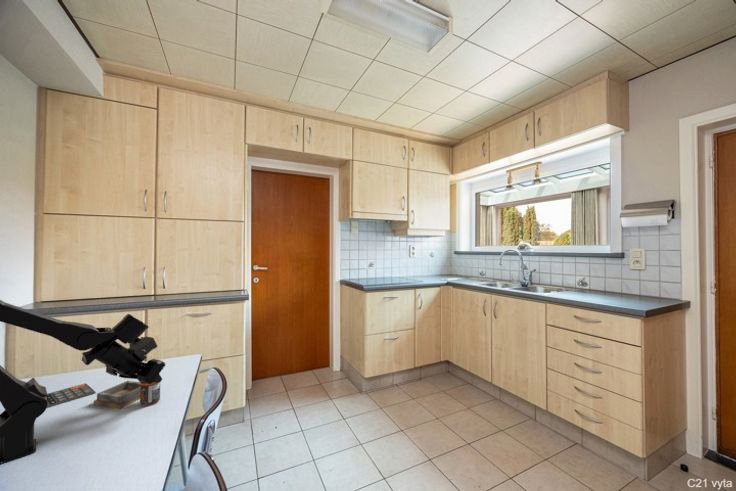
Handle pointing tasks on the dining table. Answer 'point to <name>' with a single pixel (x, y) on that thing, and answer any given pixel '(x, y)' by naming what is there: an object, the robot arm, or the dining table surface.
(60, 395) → the calculator
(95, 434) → the dining table surface
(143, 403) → the supplement bottle
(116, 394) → the collar stand
